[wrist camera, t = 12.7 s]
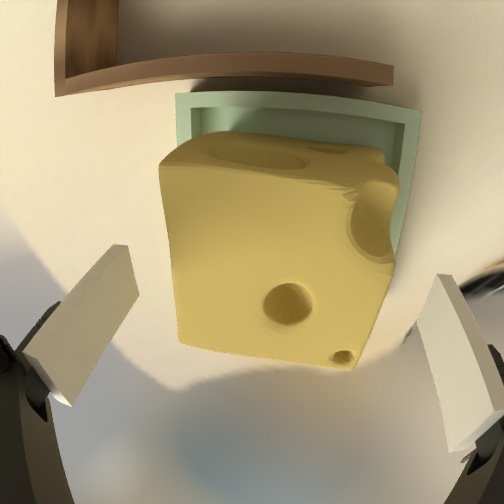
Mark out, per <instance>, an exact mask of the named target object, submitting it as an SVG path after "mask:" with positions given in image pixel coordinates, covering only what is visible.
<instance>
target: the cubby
mask: <svg viewBox="0 0 504 504" xmlns="http://www.w3.org/2000/svg"><path fill="white" fill-rule="evenodd" d="M117 16H118V0H58V1H57V11H56V24H55V45H54V82H55V97H59V96H65V95H71V94H78V93H84V92H92V91H100V90H108V89H114V88H119V87H125V86H132V85H138V84H146V83H154V82H162V81H172V80H183V79H197V78H216V77H277V78H296V79H310V80H321V81H330V82H339V83H347V84H354V85H361V86H367V87H369V86H388V85H393V68H394V66H391V65H386V64H381V63H376V62H370V61H364V60H358V59H351V58H343V57H335V56H326V55H316V54H303V53H285V52H226V53H208V54H195V55H185V56H176V57H168V58H160V59H153V60H147V61H141V62H135V63H130V64H124V65H119V66H116V47H117Z"/></svg>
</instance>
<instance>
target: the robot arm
mask: <svg viewBox="0 0 504 504" xmlns="http://www.w3.org/2000/svg"><path fill="white" fill-rule="evenodd" d="M138 297H139V292H138V288H137V284H136V280H135V276H134V271H133V267H132V263H131V258H130V254H129V249H128V246H125V245H115V244H113V245H112V246H111V248H110V249H109V250H108V251H107V252H106V253H105V254H104V255H103V256H102V257H101V258H100V259H99V260H98V261H97V262H96V263H95V265H94V266H93V267H92V268H91V269H90V270H89V271H88V272H87V273H86V275H85V276H84V277H83V278H82V279H81V280H80V281H79V282H78V284H77V285H76V286H75V287H74V288H73V289H72V290H71V292H70V293H69V294H68V295H67V296H66V297H65V299H64V300H63V301H62V302H60V301H59V302H57V303H56V304H54V305H53V306H51V307H50V308H49V309H48V310H47V311H46V312H45V313H44V314H43V316H42V317H41V319H39V321H38V322H37V323H36V326H34V327H33V328H32V329H31V331H30V332H29V333H28V334H27V336H26V337H25V338H24V340H23V341H22V342H21V343H20V345H19V346H18V347H17V349H16V350H15V351H14V350H13V349H12V347H11V346H10V344H9V343H8V341H7V339H6V338H5V337H4V336H2V335H0V504H74V501H73V498H72V495H71V492H70V488H69V486H68V482H67V478H66V475H65V471H64V468H63V465H62V460H61V456H60V452H59V448H58V443H57V439H56V434H55V429H54V423H53V418H52V412H51V406H50V401H49V399H48V397H47V396H48V394H49V392H51V393H52V394H53V396H54V397H55V398H56V399H57V400H58V401H60V402H62V403H64V404H67V405H69V406H71V407H72V406H73V404H74V402H75V401H76V399H77V397H78V395H79V393H80V392H81V390H82V388H83V386H84V385H85V383H86V381H87V379H88V378H89V376H90V374H91V372H92V371H93V369H94V367H95V366H96V364H97V362H98V360H99V359H100V357H101V355H102V354H103V352H104V350H105V349H106V347H107V345H108V344H109V342H110V341H111V339H112V337H113V336H114V334H115V333H116V331H117V329H118V328H119V326H120V325H121V323H122V321H123V320H124V318H125V317H126V315H127V314H128V312H129V310H130V309H131V307H132V306H133V304H134V303H135V301H136V300H137V298H138ZM417 325H418V328H419V331H420V334H421V338H422V341H423V344H424V347H425V351H426V354H427V357H428V361H429V365H430V368H431V372H432V375H433V379H434V383H435V387H436V391H437V395H438V400H439V404H440V408H441V413H442V417H443V422H444V427H445V433H446V437H447V444H448V450H449V452H455V451H460V450H465V449H467V448H468V447H469V446H470V445H472V444H473V443H474V442H475V443H476V447H477V448H476V449H475V450H473V451H472V452H471V453H470V454H468V455H467V456H466V457H464V458H463V460H462V461H461V463H464V462H465V461H466V460H468V459H469V460H468V462H467V464H466V466H465V468H464V470H463V472H462V474H461V476H460V477H459V479H458V481H457V483H456V484H455V486H454V488H453V490H452V491H451V493H450V495H449V496H448V498H447V499H446V501H445V503H444V504H504V362H503V359H502V357H501V355H500V353H499V352H498V351H497V350H496V349H495V348H494V346H493V345H487V344H486V341H485V339H484V337H483V335H482V333H481V331H480V328H479V326H478V324H477V322H476V320H475V318H474V316H473V314H472V312H471V310H470V308H469V306H468V304H467V303H466V301H465V299H464V297H463V295H462V293H461V291H460V290H459V288H458V286H457V284H456V282H455V281H454V279H453V277H452V275H445V274H437V275H436V277H435V280H434V282H433V285H432V288H431V290H430V293H429V295H428V297H427V300H426V302H425V305H424V307H423V309H422V312H421V314H420V316H419V318H418V321H417Z"/></svg>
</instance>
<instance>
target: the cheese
mask: <svg viewBox="0 0 504 504" xmlns="http://www.w3.org/2000/svg"><path fill="white" fill-rule="evenodd" d="M384 163H385V157H384V154H383V153H382V152H381V151H380V150H378V149H376V148H372V147H367V146H360V145H350V144H338V143H328V142H320V141H314V140H307V139H301V138H293V137H285V136H277V135H268V134H259V133H250V132H241V131H218V132H212V133H208V134H205V135H201V136H198V137H195V138H192V139H190V140H188V141H186V142H184V143H183V144H181V145H180V146H178V147H177V148H176V149H175V150H173V151H172V152H171V153H169V154H168V155H167V156H166V157H165V158H164V159H163V160H162V161H161V162H160V164H159V181H160V189H161V196H162V202H163V208H164V214H165V220H166V226H167V232H168V238H169V246H170V257H171V268H172V279H173V289H174V298H175V307H176V317H177V327H178V338H179V342H180V343H181V344H185V345H189V346H192V347H196V348H200V349H205V350H210V351H216V352H222V353H229V354H236V355H243V356H251V357H259V358H267V359H274V360H281V361H288V362H295V363H302V364H309V365H316V366H322V367H329V368H336V369H344V370H353V369H354V368H355V366H356V365H357V363H358V361H359V358H360V356H361V354H362V352H363V349H364V347H365V345H366V343H367V341H368V339H369V337H370V334H371V332H372V329H373V327H374V324H375V321H376V319H377V316H378V313H379V311H380V308H381V306H382V303H383V301H384V298H385V296H386V293H387V291H388V288H389V285H390V282H391V279H392V277H393V272H394V268H395V257H394V251H393V247H392V243H391V235H390V229H391V218H392V214H393V209H394V206H395V203H396V199H397V196H398V192H399V177H398V175H397V174H396V172H395V171H394V170H393V169H392V168H391V167H388V166H386V165H384Z"/></svg>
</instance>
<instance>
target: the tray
mask: <svg viewBox="0 0 504 504" xmlns="http://www.w3.org/2000/svg"><path fill="white" fill-rule="evenodd" d="M175 98H176V131H177V147H178V146H180V145H181V144H183V143H184V142H186V141H188V140H190V139H192V138H195V137H198V136H201V135H205V134H208V133H212V132H218V131H241V132H250V133H259V134H268V135H277V136H285V137H293V138H301V139H307V140H314V141H320V142H328V143H338V144H350V145H360V146H367V147H372V148H376V149H378V150H380V151H381V152H382V153H383V154H384V157H385V163H384V165H386V166H388V167H391V168H392V169H393V170H394V171H395V172H396V174H397V175H398V177H399V192H398V196H397V199H396V203H395V206H394V209H393V214H392V218H391V229H390V235H391V243H392V247H393V251H394V257H395V254H396V250H397V247H398V243H399V239H400V235H401V230H402V226H403V222H404V217H405V213H406V208H407V203H408V198H409V193H410V188H411V182H412V177H413V171H414V165H415V159H416V152H417V145H418V137H419V129H420V120H421V111H418V110H414V109H409V108H404V107H399V106H394V105H389V104H384V103H378V102H372V101H366V100H359V99H352V98H344V97H336V96H327V95H317V94H305V93H291V92H270V91H209V92H189V93H175Z"/></svg>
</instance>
